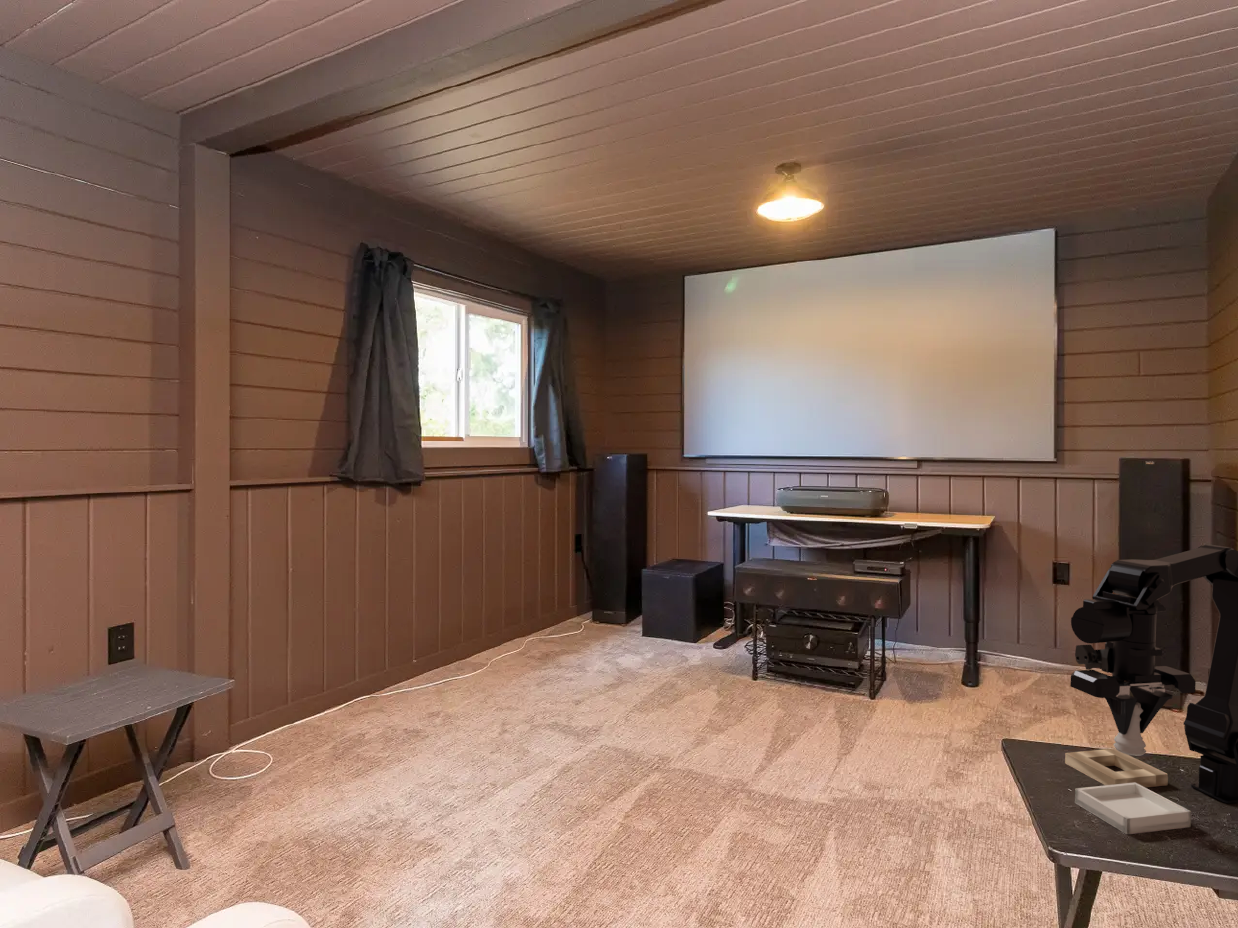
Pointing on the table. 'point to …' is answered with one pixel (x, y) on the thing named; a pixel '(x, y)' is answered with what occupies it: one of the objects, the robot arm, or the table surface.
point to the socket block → (1133, 768)
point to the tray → (1132, 808)
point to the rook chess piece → (1132, 736)
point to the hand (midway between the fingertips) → (1130, 732)
